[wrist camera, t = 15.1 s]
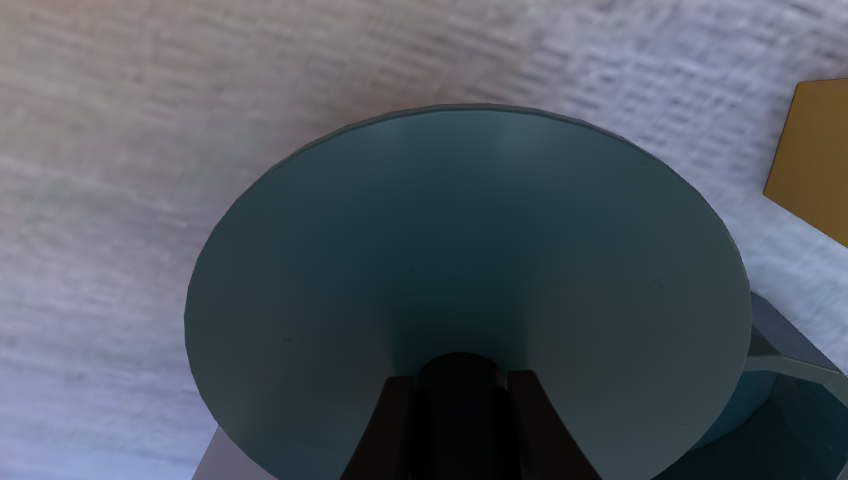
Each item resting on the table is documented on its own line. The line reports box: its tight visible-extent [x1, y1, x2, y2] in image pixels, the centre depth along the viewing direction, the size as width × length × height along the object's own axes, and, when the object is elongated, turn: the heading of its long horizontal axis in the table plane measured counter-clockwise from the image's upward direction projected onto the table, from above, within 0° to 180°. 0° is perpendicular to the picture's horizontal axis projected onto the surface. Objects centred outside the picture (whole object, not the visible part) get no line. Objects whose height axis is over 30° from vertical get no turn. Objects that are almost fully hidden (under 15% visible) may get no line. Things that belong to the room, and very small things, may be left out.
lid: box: [184, 103, 753, 480], centre depth 11 cm, size 15×15×5 cm
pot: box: [650, 292, 848, 480], centre depth 22 cm, size 14×14×5 cm
